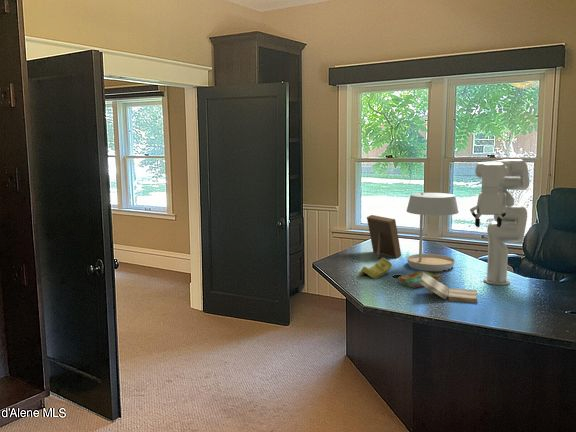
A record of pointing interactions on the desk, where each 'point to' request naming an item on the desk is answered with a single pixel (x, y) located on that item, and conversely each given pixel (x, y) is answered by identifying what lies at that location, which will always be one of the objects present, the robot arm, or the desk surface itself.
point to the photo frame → (384, 236)
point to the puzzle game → (415, 279)
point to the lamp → (428, 206)
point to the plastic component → (377, 268)
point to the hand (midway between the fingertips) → (488, 226)
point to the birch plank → (434, 285)
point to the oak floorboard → (462, 295)
